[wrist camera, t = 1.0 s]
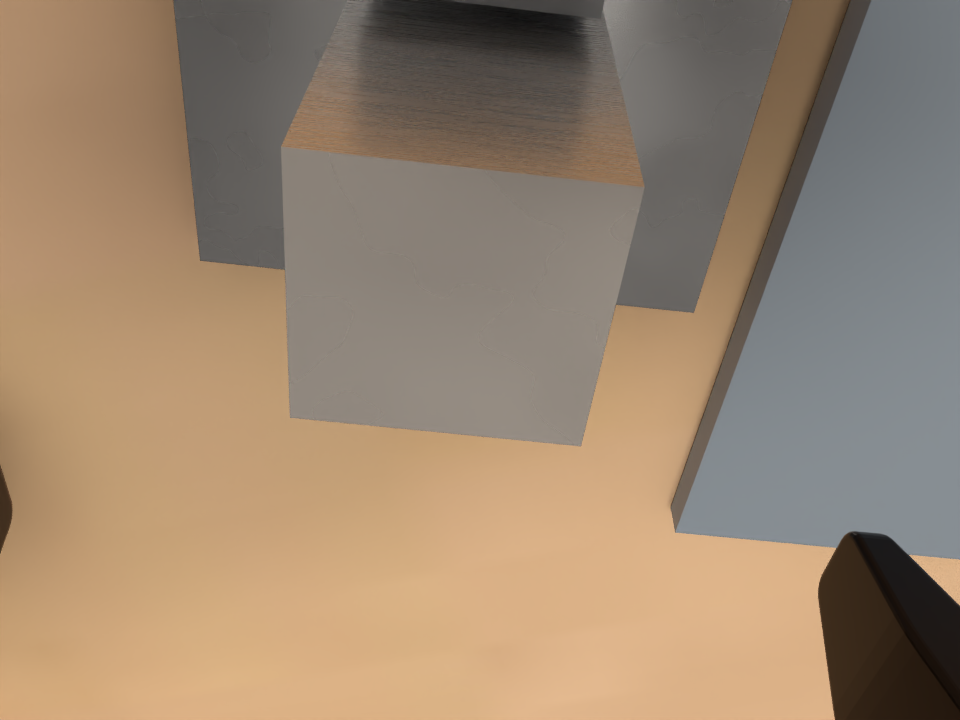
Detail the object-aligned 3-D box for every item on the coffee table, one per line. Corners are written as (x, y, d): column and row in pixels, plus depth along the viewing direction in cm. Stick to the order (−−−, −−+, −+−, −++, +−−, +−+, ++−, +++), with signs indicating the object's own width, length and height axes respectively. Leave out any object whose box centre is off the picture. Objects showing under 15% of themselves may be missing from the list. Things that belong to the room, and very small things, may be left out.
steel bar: (359, 174, 20) (289, 417, 14) (365, -39, 17) (281, 146, 11) (560, 196, 20) (581, 446, 14) (598, -11, 17) (644, 187, 11)
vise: (211, 238, 22) (161, 337, 19) (167, -242, 16) (83, -212, 13) (687, 289, 23) (714, 392, 20) (823, -157, 17) (893, -108, 14)
